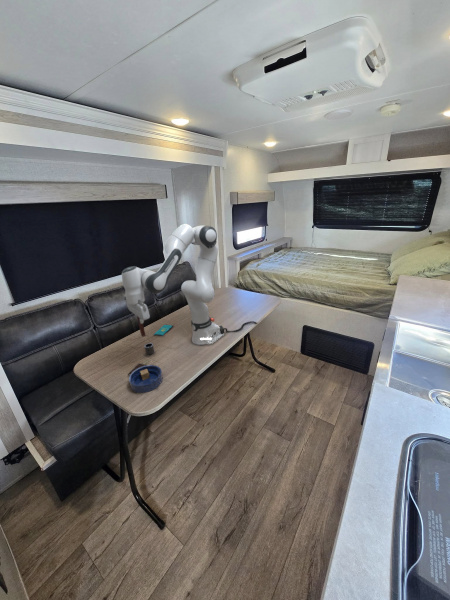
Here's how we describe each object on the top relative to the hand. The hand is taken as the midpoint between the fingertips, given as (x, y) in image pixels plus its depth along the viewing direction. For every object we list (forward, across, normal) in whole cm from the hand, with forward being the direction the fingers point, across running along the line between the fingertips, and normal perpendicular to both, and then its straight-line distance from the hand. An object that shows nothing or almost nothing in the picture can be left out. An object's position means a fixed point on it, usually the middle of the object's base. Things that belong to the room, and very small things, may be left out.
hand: (140, 322), depth 129 cm
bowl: (+25, -17, +9) cm, 32 cm away
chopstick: (+8, 0, 0) cm, 8 cm away
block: (+24, -13, +8) cm, 29 cm away
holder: (+25, +6, -4) cm, 26 cm away
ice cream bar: (+25, -4, +7) cm, 26 cm away
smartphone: (+25, +26, -24) cm, 43 cm away
